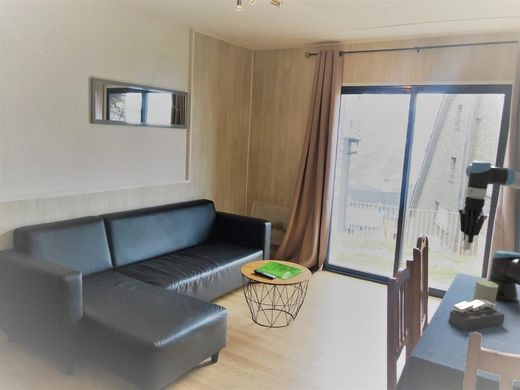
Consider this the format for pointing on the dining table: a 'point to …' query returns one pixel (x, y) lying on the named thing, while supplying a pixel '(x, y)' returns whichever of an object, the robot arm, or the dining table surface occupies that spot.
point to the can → (485, 291)
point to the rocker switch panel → (476, 318)
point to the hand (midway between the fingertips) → (466, 249)
